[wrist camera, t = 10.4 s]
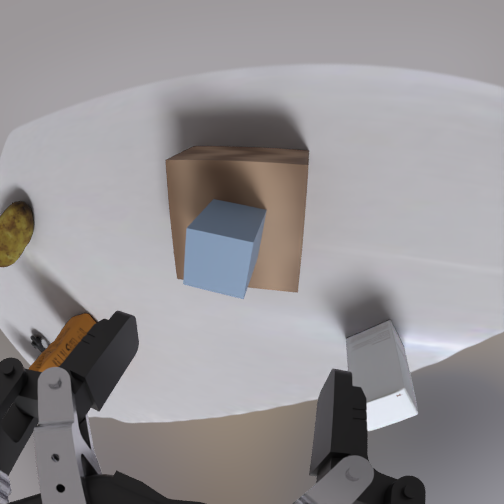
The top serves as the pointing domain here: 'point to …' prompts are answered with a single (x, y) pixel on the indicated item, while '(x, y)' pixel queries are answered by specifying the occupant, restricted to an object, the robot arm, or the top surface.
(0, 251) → the potato
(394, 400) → the supplement box
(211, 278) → the slate block
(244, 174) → the walnut box
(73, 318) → the coffee package
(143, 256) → the top surface
